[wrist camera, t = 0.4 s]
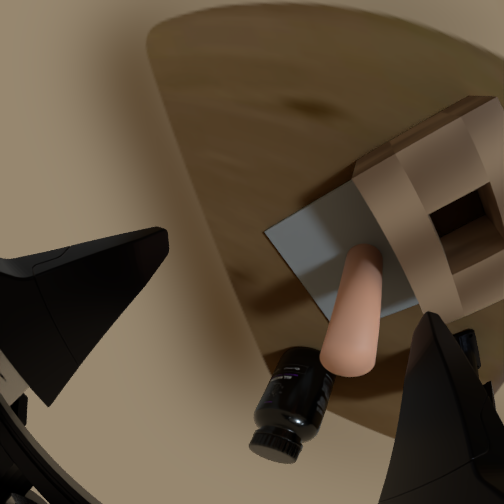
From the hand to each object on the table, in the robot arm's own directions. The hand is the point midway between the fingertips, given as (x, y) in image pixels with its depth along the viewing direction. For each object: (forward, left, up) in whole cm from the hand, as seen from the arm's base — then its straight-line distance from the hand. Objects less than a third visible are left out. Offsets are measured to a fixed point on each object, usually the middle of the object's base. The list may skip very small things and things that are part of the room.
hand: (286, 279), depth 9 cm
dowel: (-7, +2, -13) cm, 15 cm away
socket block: (-6, -6, -13) cm, 16 cm away
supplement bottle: (-17, +14, -14) cm, 26 cm away
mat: (-7, +4, -13) cm, 15 cm away
